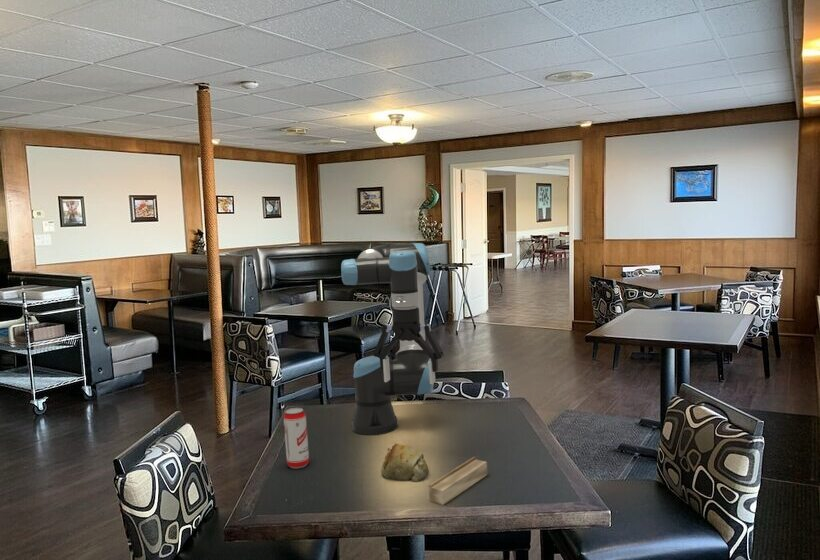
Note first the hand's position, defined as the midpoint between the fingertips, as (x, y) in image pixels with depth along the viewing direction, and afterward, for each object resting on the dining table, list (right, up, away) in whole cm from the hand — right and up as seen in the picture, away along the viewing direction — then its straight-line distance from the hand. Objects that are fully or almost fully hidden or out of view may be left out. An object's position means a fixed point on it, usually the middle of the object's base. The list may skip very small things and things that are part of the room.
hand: (409, 382), depth 174 cm
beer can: (-32, -24, +2) cm, 40 cm away
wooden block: (+13, -24, -18) cm, 32 cm away
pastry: (-1, -24, -8) cm, 25 cm away
